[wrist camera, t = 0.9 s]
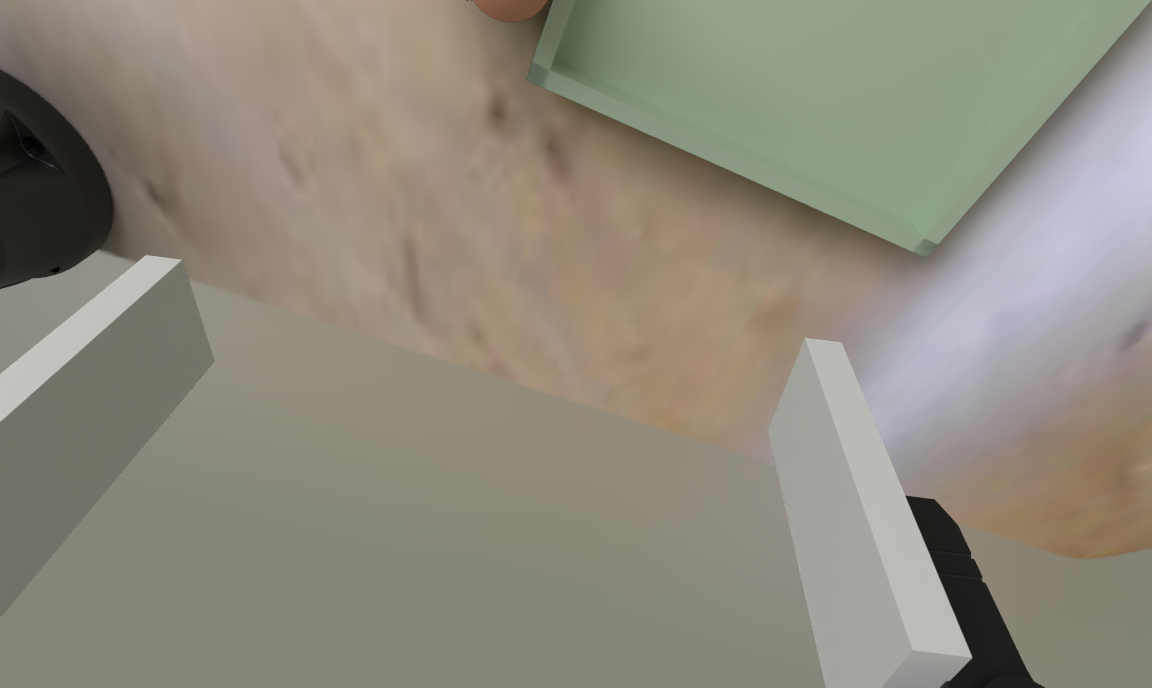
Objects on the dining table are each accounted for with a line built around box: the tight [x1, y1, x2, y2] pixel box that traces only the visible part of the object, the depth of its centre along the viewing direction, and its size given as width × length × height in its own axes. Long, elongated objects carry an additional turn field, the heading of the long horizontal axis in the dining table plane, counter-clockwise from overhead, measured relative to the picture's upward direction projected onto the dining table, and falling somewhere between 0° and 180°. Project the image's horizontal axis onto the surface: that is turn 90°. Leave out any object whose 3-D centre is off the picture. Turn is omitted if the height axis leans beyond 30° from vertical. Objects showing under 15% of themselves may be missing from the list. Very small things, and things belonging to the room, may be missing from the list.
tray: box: [526, 0, 1151, 258], centre depth 33 cm, size 26×18×3 cm
